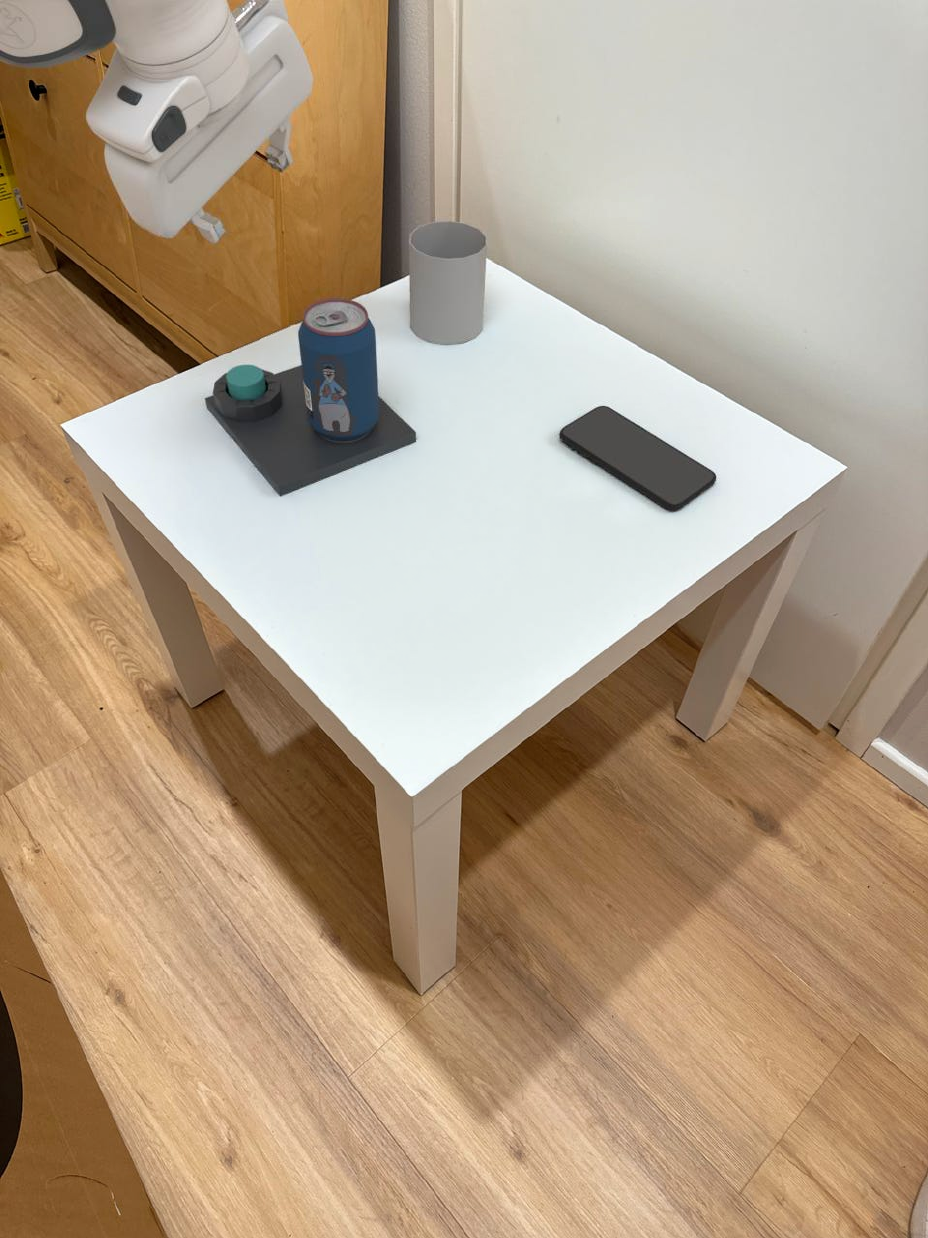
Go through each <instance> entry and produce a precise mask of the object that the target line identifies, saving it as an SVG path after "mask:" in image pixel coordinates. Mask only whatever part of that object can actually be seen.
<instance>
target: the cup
mask: <svg viewBox="0 0 928 1238" xmlns="http://www.w3.org/2000/svg"><path fill="white" fill-rule="evenodd" d="M408 239H409V240H408V266H409V267H408V268H409V270H408V271H409V273H408V274H409V277H408V280H409V328H410V329H411V331H412V333H414V335H415V336H416V337H417V338H420V339H422V340H424V341H425V342H428V343H431V344H438V345H444V346H449V345H461V344H462V345H463V344H465V343H467V342H469V341H472V340H474V339H476V338H478V336H479V335H480V334H481V333H482V331H483V327H484V311H485V310H484V309H485V290H486V272H487V255H488V253H487V252H488V236H487V235H486V234H485V233H484V232H483V231H482V230H481V229H480V228H478V227H476V226H473V225H470V224H468V223H466V222H459V221H453V220H444V221H432V222H428V223H425V224H422V225H419V226H417V227H416V228H415V229H414V230H413V231H412V232H410V233H409V238H408Z"/></svg>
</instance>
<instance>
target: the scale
mask: <svg viewBox="0 0 928 1238" xmlns="http://www.w3.org/2000/svg"><path fill="white" fill-rule="evenodd" d="M260 369H261V370H262V371H263V373H264V380H265V386H266V391H265V393H264V394H263V395H262V396H260V397H257V398H254V399H248V400H239V399H236V398H233V397H232V396H231V395H230V393H229V389H228V384H227V379H226V375H227V373H228V372H225V373H223V374H222V375H221V376H220V377H219V378H218V379H217V380H216V381H215V382H214V384H213V389H212V395H209V396H206V397H205V398H204V401H205V406H206V409H207V410H208V411H209V413H210V414H211V415H212V416H213V417H214V419H215V421H217V422H218V424H220V426H221V427H222V428H223V429H224V430H225V432H226V433H227V435H228V436H229V437H230V438H231V439H232V440H233V441H234V443H235V444H236V445H237V447H239V449H240V450H241V451H242V452H243V453H244V455H245V456H246V458H247V459H249V461H250V462H251V463H252V464H253V466H254V467H255V468H256V469H257V470H258V472H259V473H260V474H261V475H262V476H263V478H264V479H265V480H266V482H267V483H268V484H269V485H270V486H271V487H272V488H273V490H274V491H275V492H276V493H277V494H278V496H279V497H283V496H285V495H288V494H290V493H292V492H295V491H297V490H299V489H302V488H304V487H308V486H309V485H312V484H314V483H317V482H319V481H322V480H325V479H327V478H330V477H332V476H335V475H337V474H339V473H341V472H344V471H347V470H349V469H351V468H355V467H357V466H359V465H361V464H364V463H367V462H369V461H371V460H374V459H376V458H380V457H382V456H384V455H387V454H389V453H391V452H394V451H396V450H399V449H401V448H404V447H406V446H409V445H412V444H414V443H416V442H417V432H416V430H415V429H414V428H413V427H411V426H410V424H408V423H407V422H406V421H405V420H404V419H403V418H402V417H401V415H399V414H398V413H397V412H396V411H395V410H394V409H393V408H392V407H391V406H390V405H389V404H388V403H387V402H386V401H385V400H383V399H382V398H381V396H380V395H378V401H379V418H378V420H377V422H376V424H375V426H374V427H373V429H372V430H371V431H370V433H369V434H368V435H367V436H365V437H364V438H362V439H360V440H358V441H355V442H350V443H336V442H332V441H328V440H326V439H324V438H323V437H321V436H320V435H319V434H318V433H317V432H316V431H315V430H314V428H313V427H312V426H311V425H310V423H309V421H308V418H307V410H306V401H305V392H304V383H303V374H302V365H301V364H300V365H297V366H294V367H291V368H289V369H286V370H283V371H280V372H277V373H273V372H271V371H268V370H266V369H263V368H260Z"/></svg>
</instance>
